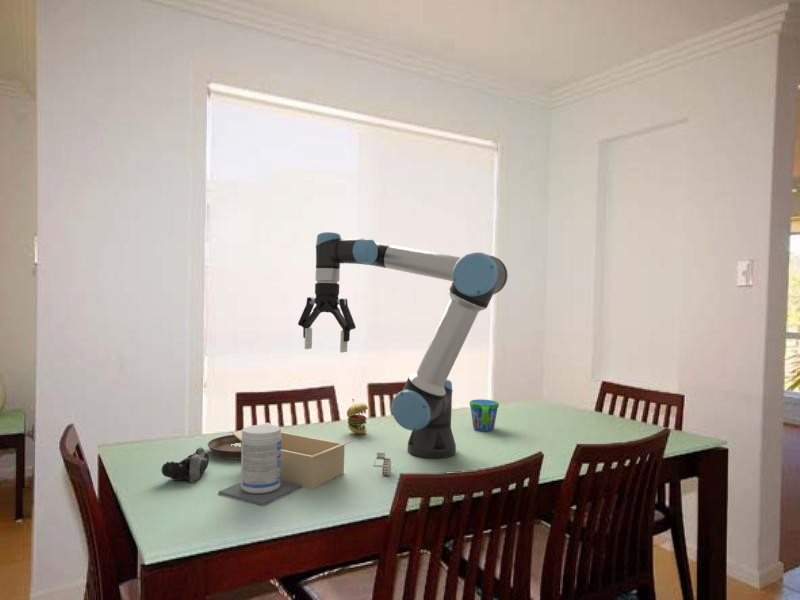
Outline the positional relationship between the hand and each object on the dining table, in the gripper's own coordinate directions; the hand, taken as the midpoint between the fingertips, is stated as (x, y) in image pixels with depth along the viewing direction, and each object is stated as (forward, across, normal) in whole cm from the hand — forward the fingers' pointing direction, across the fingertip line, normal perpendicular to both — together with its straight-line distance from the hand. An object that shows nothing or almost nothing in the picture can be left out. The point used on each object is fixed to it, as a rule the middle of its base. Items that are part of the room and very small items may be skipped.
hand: (325, 350), depth 175 cm
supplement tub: (+30, -9, +38) cm, 49 cm away
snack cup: (+31, -34, -52) cm, 69 cm away
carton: (+31, -7, +23) cm, 39 cm away
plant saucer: (+31, +18, +16) cm, 39 cm away
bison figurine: (+31, +14, +41) cm, 53 cm away
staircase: (+31, -28, +11) cm, 44 cm away
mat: (+31, -9, +38) cm, 50 cm away
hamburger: (+31, +1, -21) cm, 37 cm away
